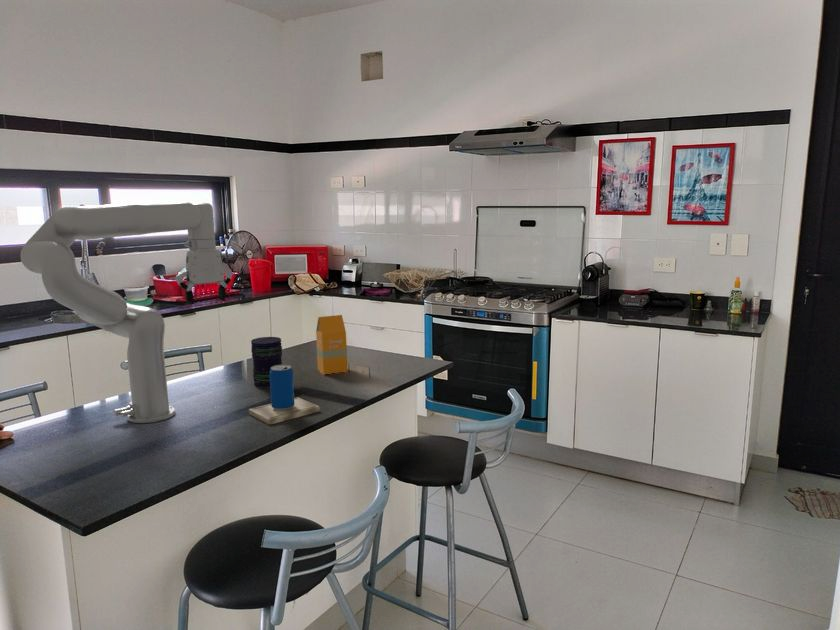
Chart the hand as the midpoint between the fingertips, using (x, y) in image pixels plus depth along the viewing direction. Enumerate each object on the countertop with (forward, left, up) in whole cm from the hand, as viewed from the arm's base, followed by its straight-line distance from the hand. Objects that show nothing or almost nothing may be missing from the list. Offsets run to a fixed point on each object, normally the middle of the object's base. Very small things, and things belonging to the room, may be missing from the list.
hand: (206, 302), depth 188 cm
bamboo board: (+9, -28, -30) cm, 42 cm away
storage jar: (+20, +2, -31) cm, 36 cm away
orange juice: (+44, 0, -31) cm, 53 cm away
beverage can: (+9, -27, -29) cm, 41 cm away
